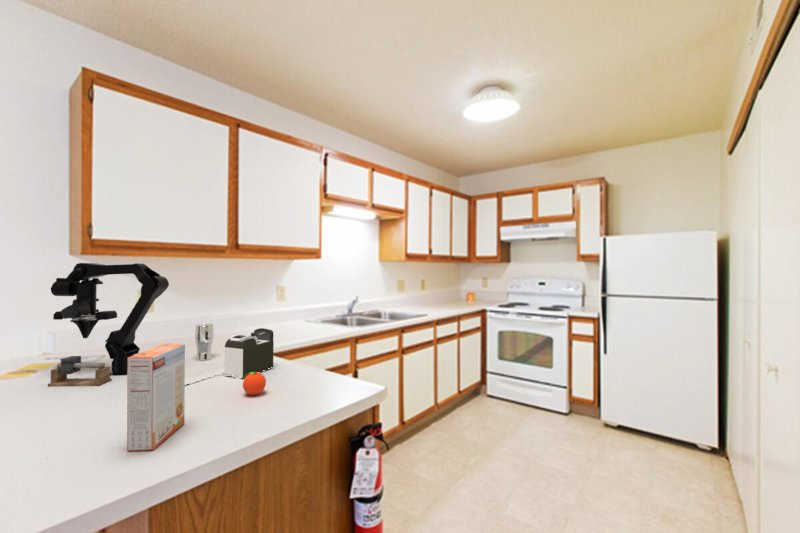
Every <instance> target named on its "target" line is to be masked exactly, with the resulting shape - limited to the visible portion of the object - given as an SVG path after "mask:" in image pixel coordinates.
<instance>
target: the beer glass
mask: <svg viewBox="0 0 800 533" xmlns="http://www.w3.org/2000/svg"><path fill="white" fill-rule="evenodd" d="M194 336H195V337H194V338H195V346H196V357H195V361H197V360H206V361H210V360H212V359H211V358H212V344H213V340H214V324H213V323H200V324H199V323H198V324H196V325H195V333H194ZM209 359H210V360H209Z"/></svg>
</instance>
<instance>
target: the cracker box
mask: <svg viewBox="0 0 800 533" xmlns="http://www.w3.org/2000/svg"><path fill="white" fill-rule="evenodd" d="M185 369H186V344H185V343H162V344H160V345H157V346H154V347H152V348H150V349H147V350H144V351H141V352H138V354H134V355H133V356H131V357H128V358H127V375H126V377H127V378H126V379H127V382H126V383H127V387H126V388H127V394H126V395H127V406H126V407H127V408H126V409H127V412H126V414H127V416H126V417H127V418H126V420H127V421H126V426H127V427H126V433H127V434H126V439H127V440H126V444H127V446H126V451H127V452H138V451H139V452H141V451H142V452H143V451H154V450H156V449H157V447H159V446H160V445H161V444H162V443H163V442H165V441H166V440H167V439H168V438H169V437H171V435H173V434H174V433H175V432H176V431H177V430H179V428H181V427H182V426H183V425H184V424H185V407H186V406H185V404H186V402H185V401H186V400H185V395H186V394H185V392H186V391H185V388H186V386H185V378H186V376H185V375H186V374H185V373H186V370H185Z"/></svg>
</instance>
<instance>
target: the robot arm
mask: <svg viewBox="0 0 800 533" xmlns="http://www.w3.org/2000/svg"><path fill="white" fill-rule="evenodd" d="M131 274H132V275H134V277H136V279H137V281H138V282H139V283H140V284H141V287H140V296H139V298H138V299H137V301H136V303H135V305H134V306H133V308H132V310H131V311H130V313H129V315H128V316H127V317H126V319H125V321H124V322H123V324H122V326H121V328H120V329H117V330H114V331H113V330H112V331H111V332H110V333H109V335H108V338H107V339H105V341H104V342H105V345H104V348H105V350H106V351H107V353H108V356H109V358H110V359H111V372H110V376H117V375H118V376H120V375H121V376H122V375H126V376H127V358H128V357H131V356H133V355H136V354H139V353H140V350H141V348H140V347H139V346H138V345H137V344H136V343H135V340H136V331H137V329H138V327H139V326H140V325H141V323H142V322H143V320H144V318H145V317H146V315H147V313H148V311H149V310H150V308H151V307H152V305H153V304H154V302H155V300H156V299H158V298H159V297H160V296H161V295H163V293H165V292H166V290H168V288H169V287H170V286H169V285H170V283H169V280H168V279H167V277H166V276H162V275H161V274H159V273H158V272H157V271H155V270H153V269H152V268H150V267H149V266H147V264H145V263H130V264H129V263H128V264H125V263H124V264H101V263H94V262H93V263H92V262H78V263H76V264H75V266H74V267H73V269H72V271H71V272H70V273H69V274H68V275H67V277H57V278H56V279H55V281H54V282H53V283H52V285H51V287H50V293H51V294H52V296H55V297H75V298H76V299H73V300H72V304H71V305H68V306H66V307H64V308H63V309H61V310H60V311H59V310H58V311H55V313H53V315H52V316H53V318H52V319H53V320H58V321H59V320H63V319H65V320H68V319H71V320H69V321H70V323H74V324H75V325H76V326H77V328H78V329H79V332H80V334H81V336H82V338H83V339H87V338H89V336H90V335H91V333H92V331H93V329H94V327H96V325H97V324H98V322H99V321H107V320H111V319H118V312H117V311H116V310H102V311H100V310H99V309H98V308H97V302H99V301H100V298H97V291H98V290H97V287H98V285H103V284H104V282H103V281H102V280H101V279H99V278H101V277H105V276H107V275H109V276H110V275H131Z"/></svg>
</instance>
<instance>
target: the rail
mask: <svg viewBox="0 0 800 533" xmlns="http://www.w3.org/2000/svg"><path fill="white" fill-rule="evenodd" d="M78 368H81V369H95V377H92V378H87V377H85V378H83V377H82V378H79V377H75V378H70V377H69V378H68V374H61V362H59V363H58V364H57V365H56V368H53V369H51V370H50V383H47V387H101V386H103V385H105V384H107V383H109V382H111V381H113V378H112V377H111V375H110V373H111V366H106V363H104V362H81V363H73V369H78Z"/></svg>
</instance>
